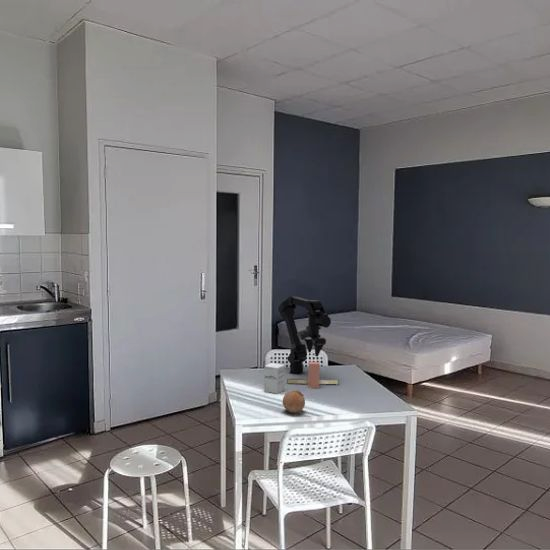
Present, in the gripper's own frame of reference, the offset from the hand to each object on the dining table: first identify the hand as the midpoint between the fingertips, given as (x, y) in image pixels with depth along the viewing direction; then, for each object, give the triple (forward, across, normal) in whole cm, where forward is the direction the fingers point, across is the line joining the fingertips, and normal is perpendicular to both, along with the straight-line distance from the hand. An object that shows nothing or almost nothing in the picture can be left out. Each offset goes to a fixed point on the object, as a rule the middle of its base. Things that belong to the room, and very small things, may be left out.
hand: (313, 354), depth 266 cm
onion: (+14, +43, -27) cm, 53 cm away
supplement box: (+14, +14, -26) cm, 32 cm away
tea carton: (+13, +12, -5) cm, 19 cm away
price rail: (+13, +7, -3) cm, 15 cm away
